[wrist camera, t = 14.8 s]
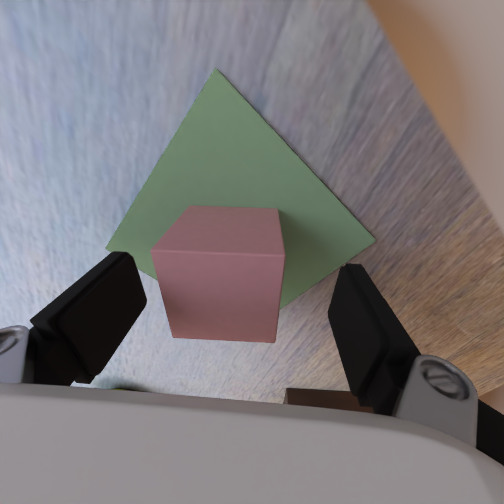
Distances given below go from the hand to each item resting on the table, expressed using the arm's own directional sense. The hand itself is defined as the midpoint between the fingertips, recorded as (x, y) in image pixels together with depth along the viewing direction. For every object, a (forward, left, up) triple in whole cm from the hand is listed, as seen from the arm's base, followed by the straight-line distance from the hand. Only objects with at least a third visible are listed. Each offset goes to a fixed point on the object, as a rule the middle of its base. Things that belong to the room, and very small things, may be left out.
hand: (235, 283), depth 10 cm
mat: (0, 0, -4) cm, 4 cm away
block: (+1, 0, -4) cm, 4 cm away
